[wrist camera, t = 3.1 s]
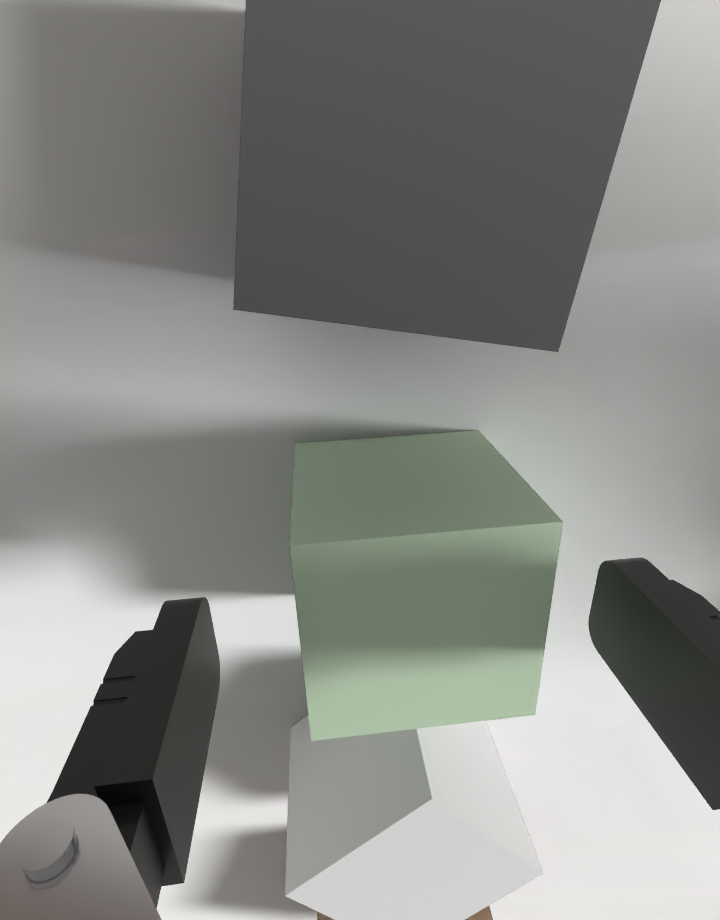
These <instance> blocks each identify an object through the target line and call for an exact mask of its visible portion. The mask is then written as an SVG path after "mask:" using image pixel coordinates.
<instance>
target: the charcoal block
mask: <svg viewBox="0 0 720 920" xmlns="http://www.w3.org/2000/svg"><path fill="white" fill-rule="evenodd" d="M660 2H661V0H246V11H245V36H244V61H243V85H242V110H241V135H240V160H239V184H238V209H237V234H236V259H235V283H234V308H233V310H241V311H248V312H256V313H264V314H271V315H279V316H287V317H294V318H302V319H310V320H317V321H325V322H333V323H340V324H348V325H356V326H363V327H371V328H379V329H386V330H394V331H402V332H409V333H417V334H425V335H432V336H440V337H448V338H455V339H463V340H471V341H478V342H486V343H494V344H502V345H509V346H517V347H525V348H532V349H540V350H548V351H555V352H558V351H559V347H560V344H561V340H562V337H563V333H564V330H565V327H566V323H567V320H568V316H569V313H570V309H571V306H572V303H573V299H574V296H575V292H576V289H577V286H578V282H579V279H580V275H581V272H582V268H583V265H584V262H585V258H586V255H587V251H588V248H589V244H590V241H591V238H592V234H593V231H594V227H595V224H596V221H597V217H598V214H599V210H600V207H601V203H602V200H603V197H604V193H605V190H606V186H607V183H608V179H609V176H610V173H611V169H612V166H613V162H614V159H615V156H616V152H617V149H618V145H619V142H620V138H621V135H622V132H623V128H624V125H625V121H626V118H627V114H628V111H629V108H630V104H631V101H632V97H633V94H634V91H635V87H636V84H637V80H638V77H639V73H640V70H641V67H642V63H643V60H644V56H645V53H646V49H647V46H648V43H649V39H650V36H651V32H652V29H653V26H654V22H655V19H656V15H657V12H658V8H659V5H660Z"/></svg>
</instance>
